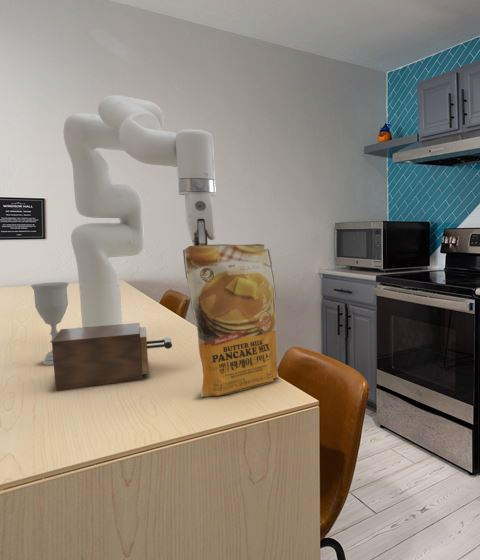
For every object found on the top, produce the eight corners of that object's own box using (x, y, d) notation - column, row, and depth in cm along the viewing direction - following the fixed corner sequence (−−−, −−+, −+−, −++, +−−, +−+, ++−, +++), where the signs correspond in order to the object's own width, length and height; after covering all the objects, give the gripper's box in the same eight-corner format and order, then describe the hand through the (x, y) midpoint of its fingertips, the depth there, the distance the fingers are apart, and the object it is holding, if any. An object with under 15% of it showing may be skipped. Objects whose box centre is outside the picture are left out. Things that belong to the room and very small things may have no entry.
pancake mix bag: (182, 394, 95) (174, 245, 92) (272, 372, 109) (268, 242, 106) (199, 402, 91) (191, 246, 87) (290, 378, 105) (286, 243, 102)
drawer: (171, 357, 117) (169, 324, 116) (174, 370, 107) (172, 334, 106) (76, 368, 108) (73, 332, 108) (70, 383, 98) (67, 344, 98)
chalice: (54, 366, 113) (48, 286, 111) (29, 365, 114) (22, 285, 112) (82, 358, 120) (76, 282, 118) (58, 356, 121) (52, 281, 119)
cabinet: (142, 364, 115) (139, 322, 114) (142, 379, 104) (139, 333, 103) (64, 373, 108) (60, 329, 107) (55, 390, 97) (51, 341, 96)
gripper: (220, 187, 106) (223, 274, 108) (211, 190, 119) (214, 268, 121) (180, 185, 103) (185, 275, 105) (176, 189, 116) (180, 269, 118)
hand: (201, 271), depth 113 cm, fingers closed
